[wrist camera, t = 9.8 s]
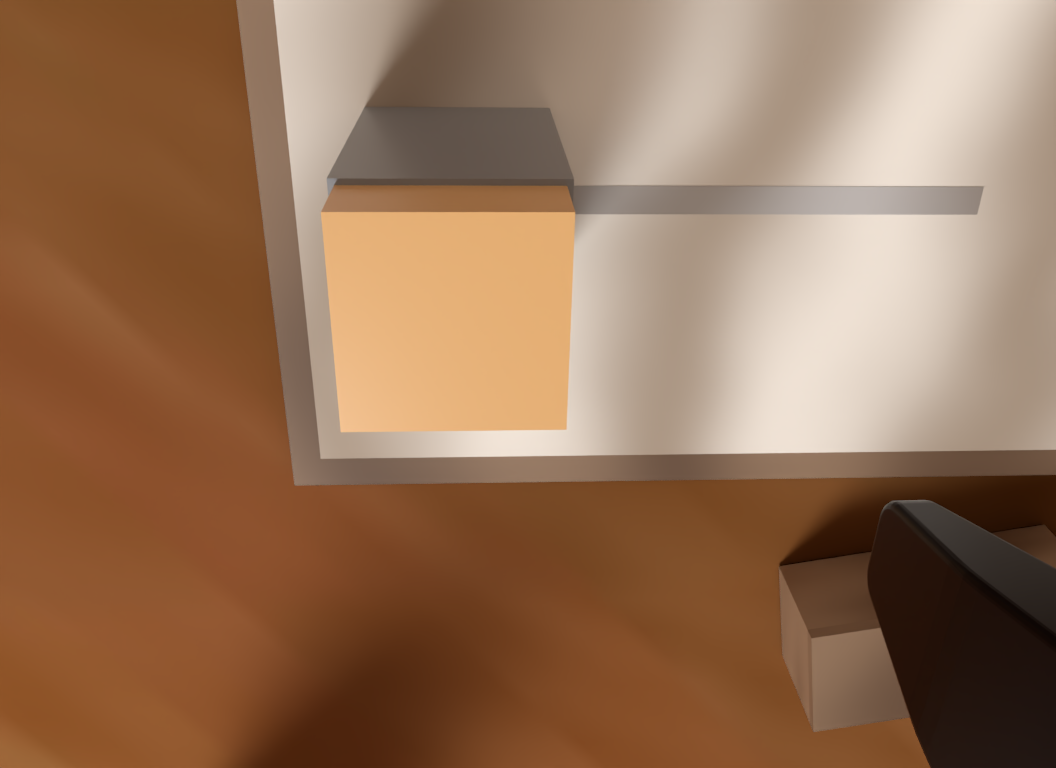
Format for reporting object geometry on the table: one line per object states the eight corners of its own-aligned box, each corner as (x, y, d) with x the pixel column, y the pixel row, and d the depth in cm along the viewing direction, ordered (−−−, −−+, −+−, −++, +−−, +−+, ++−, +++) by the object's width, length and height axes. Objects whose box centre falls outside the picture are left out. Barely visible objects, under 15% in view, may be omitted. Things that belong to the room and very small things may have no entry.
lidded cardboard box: (549, 107, 18) (583, 204, 12) (544, 279, 20) (573, 435, 14) (364, 106, 18) (312, 204, 12) (375, 279, 20) (334, 437, 14)
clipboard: (1325, -181, 17) (1386, -186, 16) (1096, 465, 24) (1127, 494, 22) (216, -207, 16) (196, -214, 15) (297, 476, 22) (287, 507, 21)
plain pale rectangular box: (1044, 524, 24) (1106, 592, 22) (1032, 616, 26) (1089, 690, 23) (778, 566, 25) (811, 638, 22) (782, 655, 26) (813, 731, 24)
